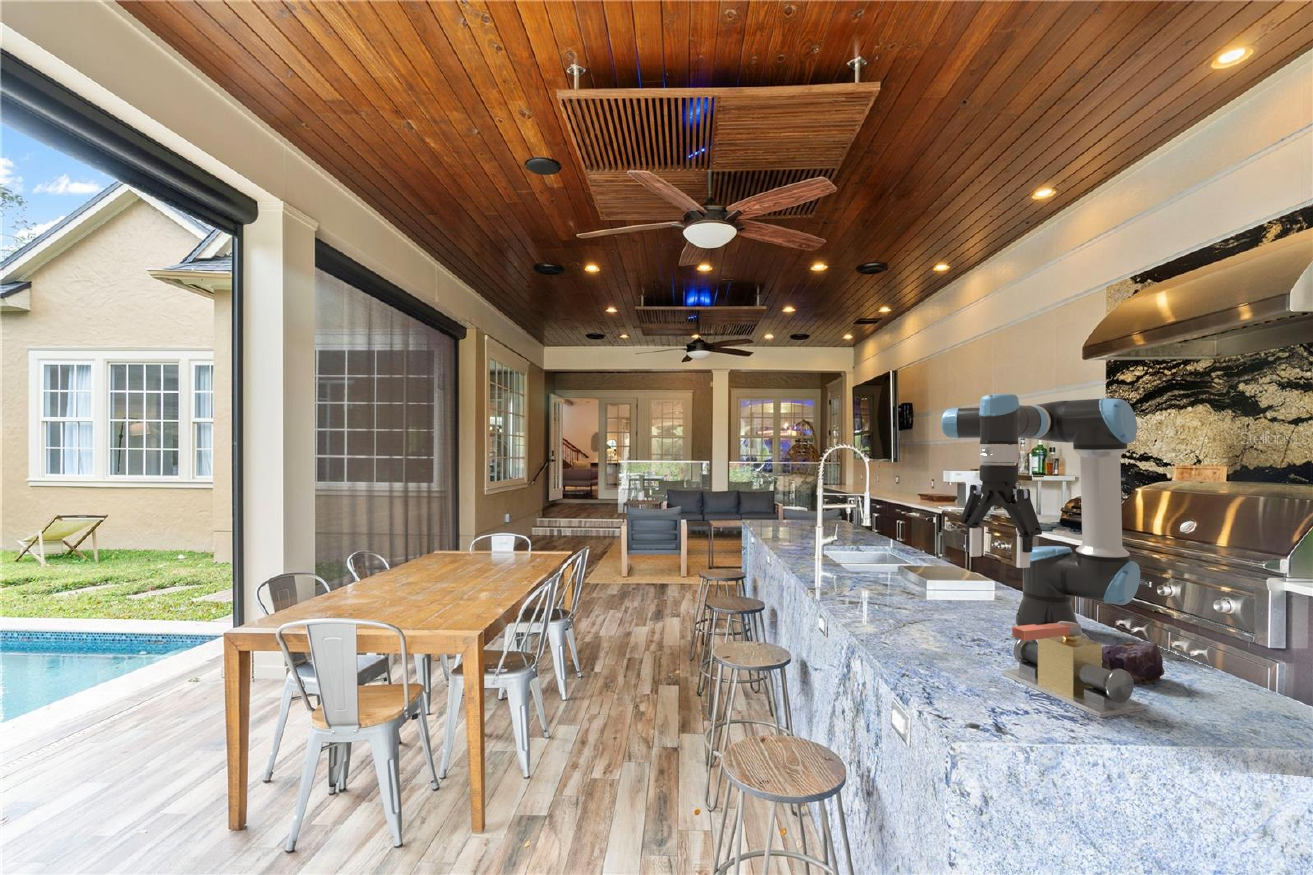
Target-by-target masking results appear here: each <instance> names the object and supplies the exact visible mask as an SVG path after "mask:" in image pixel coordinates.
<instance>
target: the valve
mask: <svg viewBox="0 0 1313 875" xmlns="http://www.w3.org/2000/svg"><path fill="white" fill-rule="evenodd" d="M1102 647H1103V643H1100V642H1099V641H1094V640H1091V639H1090V640H1088V639H1085V638H1082V637H1079V636H1074V635H1066V636H1058V637H1049V638H1045V639H1036V640H1028V641H1024V640H1021V639H1018V638H1017V640H1016V641H1015V643H1014V645H1013V656H1014V659H1015V661H1016V662H1017V663H1018V667H1019V668H1012V669H1005V670H1003V672H1002V675H1003V676H1004V677H1006V678H1009V679H1011V680H1013V681H1016V682H1019V683H1020V684H1022V685H1025V686H1028V687H1029V688H1032V689H1034V690H1036V691H1039V692H1041V693H1043V694H1045V695H1047V696H1050V697H1052V698H1054V699H1057V700H1059V701H1062V702H1064V703H1066V704H1068V705H1070V706H1073V707H1075V708H1077V709H1080V710H1081V711H1084V712H1086V713H1088V714H1091V715H1093V716H1095V717H1097V718H1100V719H1101V718H1108V717H1111V716H1118V715H1119V716H1120V715H1124V714H1125V715H1126V714H1130V713H1135V712H1140V711H1145V710H1146V709H1145V708H1146V706H1145V704H1143V703H1142V702H1139V701H1137V700H1135V699H1131V696H1132V694H1133V692H1134V684H1135V683H1134V682H1133V678H1132V676H1131V674H1130V673H1129V672H1127V671H1125V670H1122V669H1119V668H1117V669H1114V670H1112V671H1110V670H1107V669H1105V668H1102Z"/></svg>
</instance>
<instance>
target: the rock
mask: <svg viewBox="0 0 1313 875" xmlns="http://www.w3.org/2000/svg"><path fill="white" fill-rule="evenodd" d="M1159 648H1160V647H1159V646H1158V643H1157V642H1155V641H1152V642H1150V641H1149V642H1125V643H1120V644H1113V643H1112V644H1111V645H1105V646H1104V645H1102V668H1105V669H1107V670H1110V671H1112V670H1114V669H1117V668H1119V669H1122V670H1125V671H1127V672H1129V673H1130V674H1131V676H1132V678H1133V683H1134V684H1137V685H1138V684H1142V685H1147V684H1152V683H1155V682H1159V681H1161V677H1162V676H1164V674H1165V669H1164V666H1163V664H1164V660H1163V658H1164V657H1163V655H1162V654H1161V651H1160V649H1159Z"/></svg>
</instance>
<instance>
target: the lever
mask: <svg viewBox="0 0 1313 875" xmlns="http://www.w3.org/2000/svg"><path fill="white" fill-rule="evenodd" d="M1081 631H1082V626H1081V624H1079V623H1078V624H1077V623H1073V622H1067V621H1059V622H1058V623H1053V624H1044V625H1035V624H1032V625H1023V626H1018V625H1016V626H1012V627H1011V633H1012V634H1011V636H1012V637H1013V638H1017V640H1018V639H1021V640H1024V641H1028V640H1036V641H1037V640H1038V639H1045V638H1049V637H1058V636H1066V635H1074V636H1077V635H1081Z"/></svg>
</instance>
